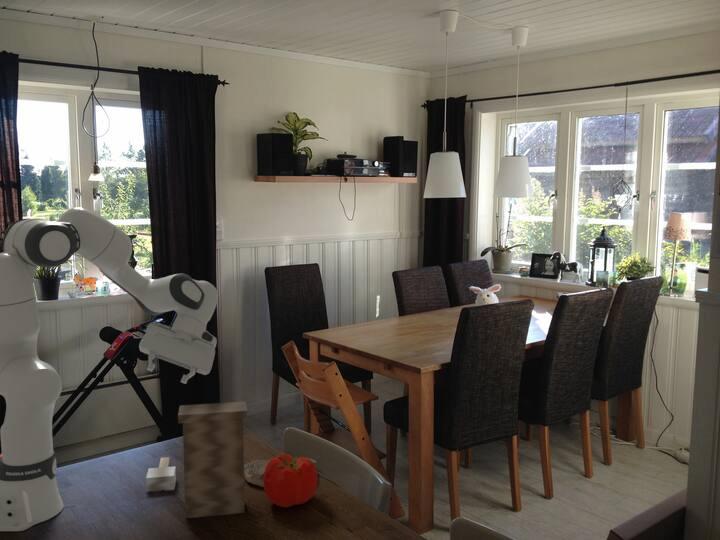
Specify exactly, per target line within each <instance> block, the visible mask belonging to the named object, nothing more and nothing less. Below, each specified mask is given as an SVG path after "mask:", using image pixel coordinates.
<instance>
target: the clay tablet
mask: <svg viewBox="0 0 720 540" xmlns="http://www.w3.org/2000/svg"><path fill="white" fill-rule="evenodd" d="M299 458H300V457H297V458H296V460H297V459H299ZM271 459H272V458H270V459H256V460H252V461H249V462H247V463H245V464H244V479H245V480H246V482H248V483H251V484H252V485H254V486H259V487H261V488H264V485H263V476H264V472H265V469H266V466H267V464H268V462H269V461H270V460H271ZM308 459H310V460H311V461H312V462H313V463H314V465H315V467H316V468H317V466H316V465H317V461H316V460H315V459H313V458H309V457H308Z"/></svg>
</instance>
